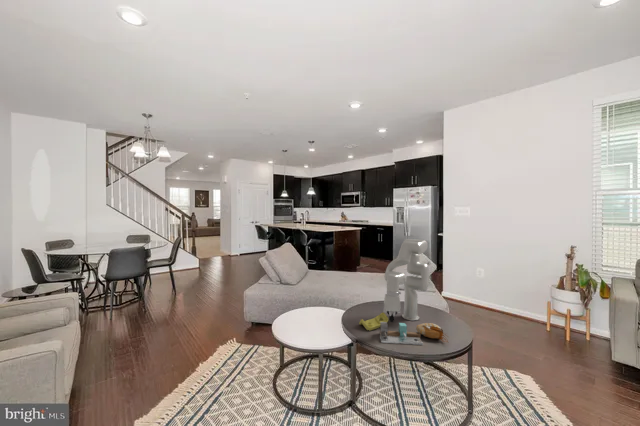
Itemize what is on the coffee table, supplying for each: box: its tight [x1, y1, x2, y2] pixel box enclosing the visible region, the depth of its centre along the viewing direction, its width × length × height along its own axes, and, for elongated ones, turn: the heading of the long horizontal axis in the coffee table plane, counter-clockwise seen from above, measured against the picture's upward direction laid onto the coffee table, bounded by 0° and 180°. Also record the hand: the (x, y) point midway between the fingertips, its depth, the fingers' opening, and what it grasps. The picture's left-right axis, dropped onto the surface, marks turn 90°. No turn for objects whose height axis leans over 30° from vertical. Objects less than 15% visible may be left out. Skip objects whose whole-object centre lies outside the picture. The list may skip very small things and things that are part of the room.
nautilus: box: [415, 322, 450, 343], centre depth 173 cm, size 8×22×15 cm
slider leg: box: [398, 322, 408, 339], centre depth 172 cm, size 11×4×8 cm, turn 176°
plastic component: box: [358, 311, 389, 331], centre depth 191 cm, size 20×7×10 cm
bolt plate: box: [379, 335, 424, 346], centre depth 169 cm, size 7×25×1 cm, turn 86°
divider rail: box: [379, 322, 421, 339], centre depth 172 cm, size 11×25×8 cm, turn 86°
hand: (391, 321), depth 175 cm, fingers closed
